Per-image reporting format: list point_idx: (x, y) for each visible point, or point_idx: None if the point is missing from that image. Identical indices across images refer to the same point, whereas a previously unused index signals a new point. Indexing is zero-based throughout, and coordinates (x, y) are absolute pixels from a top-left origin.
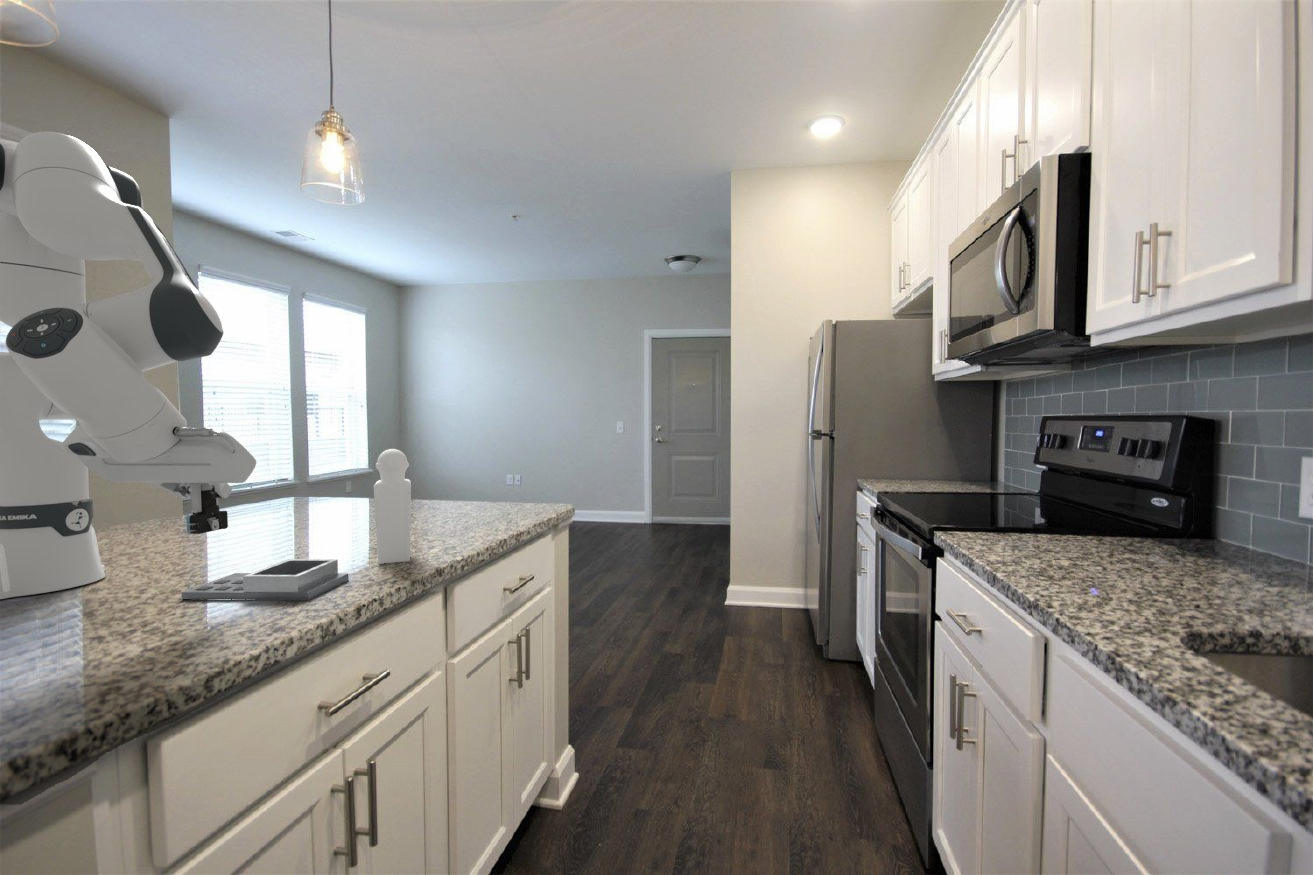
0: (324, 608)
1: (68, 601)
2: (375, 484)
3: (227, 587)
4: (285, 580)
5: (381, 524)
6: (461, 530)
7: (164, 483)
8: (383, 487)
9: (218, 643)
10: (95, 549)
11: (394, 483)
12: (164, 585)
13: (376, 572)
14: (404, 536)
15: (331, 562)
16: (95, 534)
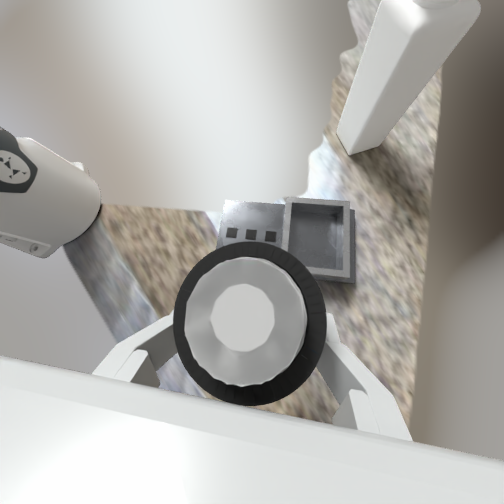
0: (388, 314)
1: (113, 260)
2: (418, 27)
3: None
4: (331, 276)
5: (379, 110)
6: (367, 28)
7: (156, 359)
8: (430, 34)
9: None
10: (65, 172)
11: (454, 16)
12: (168, 216)
13: (365, 185)
14: (394, 120)
15: (349, 213)
16: (41, 146)
